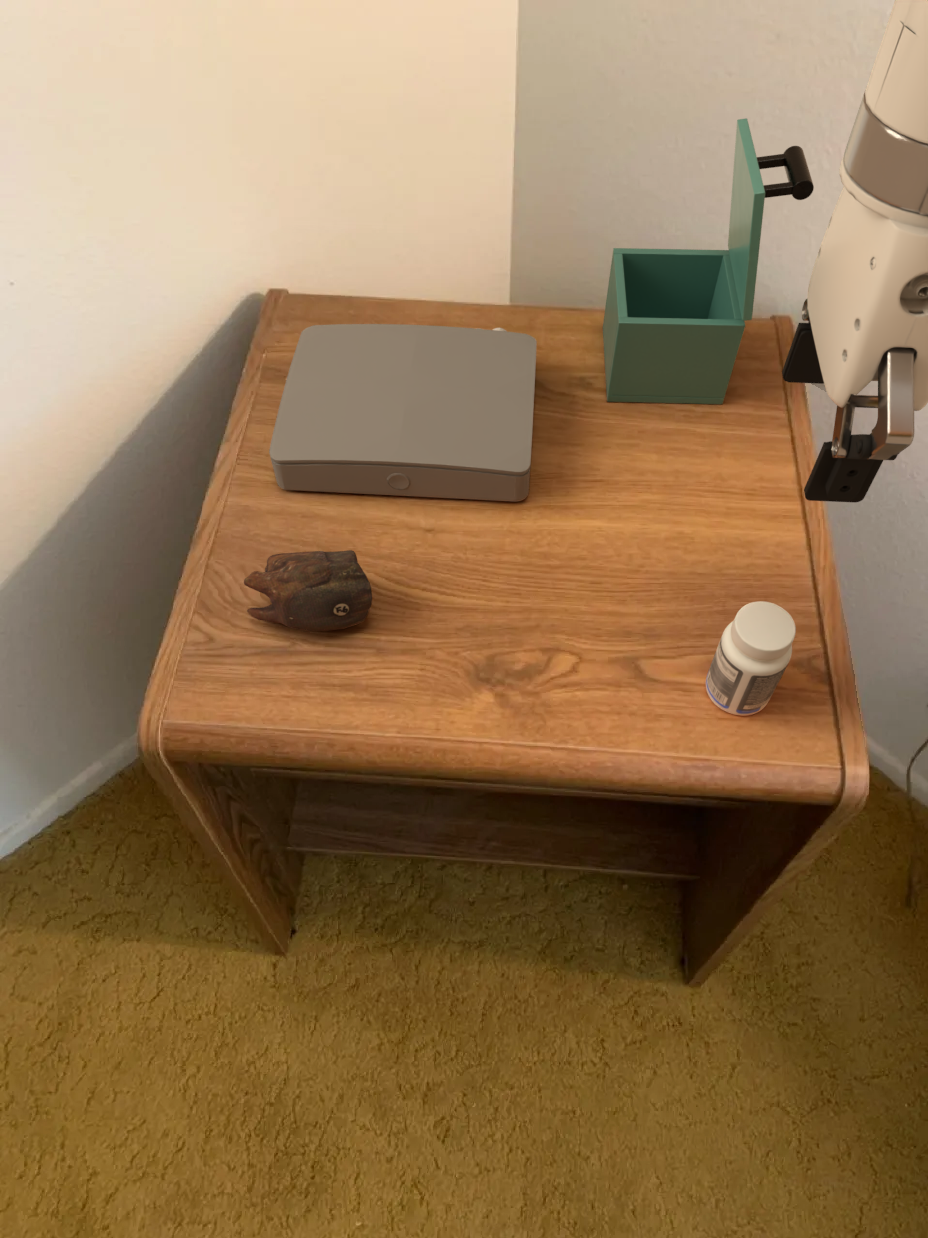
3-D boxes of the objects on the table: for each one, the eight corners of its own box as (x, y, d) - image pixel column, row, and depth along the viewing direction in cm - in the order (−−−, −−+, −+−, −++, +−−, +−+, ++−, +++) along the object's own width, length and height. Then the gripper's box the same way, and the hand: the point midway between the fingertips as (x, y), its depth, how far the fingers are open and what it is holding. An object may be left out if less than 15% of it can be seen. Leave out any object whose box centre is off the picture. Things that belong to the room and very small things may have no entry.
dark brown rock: (225, 587, 67) (359, 567, 66) (246, 548, 73) (370, 529, 71) (249, 656, 70) (378, 638, 69) (268, 614, 76) (387, 596, 74)
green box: (606, 401, 85) (618, 322, 78) (602, 327, 91) (613, 247, 84) (722, 404, 85) (745, 325, 77) (710, 329, 91) (731, 249, 83)
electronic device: (313, 346, 90) (305, 303, 86) (535, 355, 89) (538, 312, 85) (275, 492, 79) (263, 450, 75) (527, 505, 78) (530, 463, 74)
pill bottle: (774, 671, 69) (807, 606, 62) (764, 725, 66) (798, 663, 59) (710, 654, 69) (736, 588, 63) (698, 706, 67) (723, 643, 60)
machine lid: (754, 193, 68) (824, 184, 67) (737, 118, 74) (800, 110, 73) (742, 321, 77) (803, 314, 76) (727, 245, 83) (784, 239, 82)
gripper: (1088, 273, 35) (914, 553, 49) (977, 56, 45) (858, 342, 59) (888, 267, 36) (771, 547, 50) (821, 53, 45) (739, 338, 59)
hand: (818, 435), depth 54 cm, fingers open, 9 cm apart
